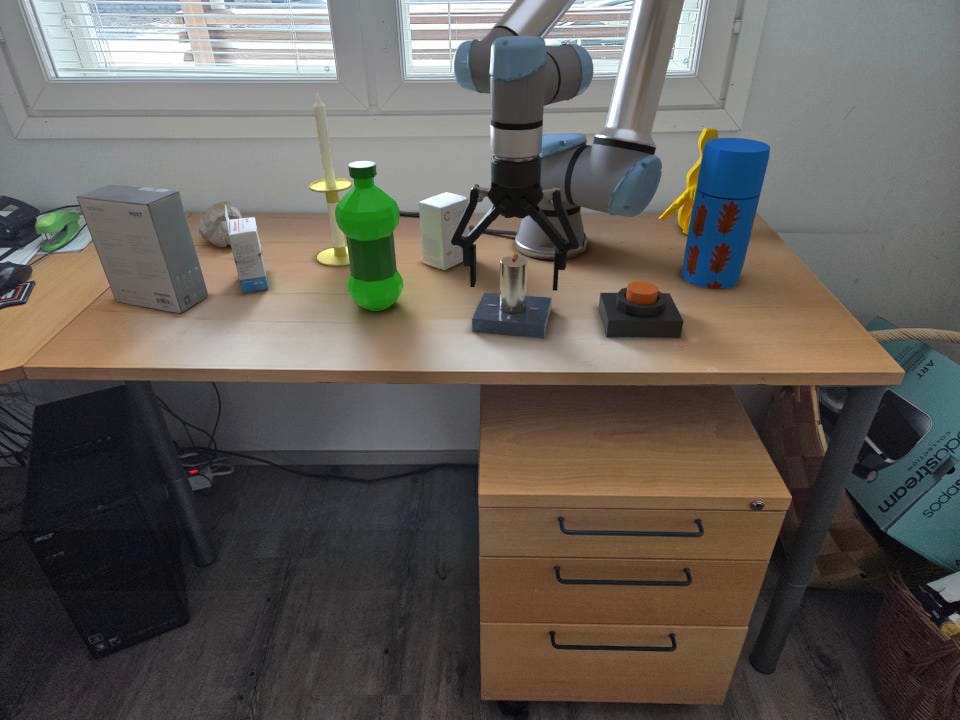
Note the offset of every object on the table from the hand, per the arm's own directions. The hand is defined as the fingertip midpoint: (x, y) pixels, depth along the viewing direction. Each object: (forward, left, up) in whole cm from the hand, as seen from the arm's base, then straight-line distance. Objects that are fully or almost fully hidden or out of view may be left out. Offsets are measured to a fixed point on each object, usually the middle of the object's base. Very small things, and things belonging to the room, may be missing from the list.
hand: (514, 285), depth 102 cm
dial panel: (0, 0, -6) cm, 7 cm away
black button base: (+14, +16, -6) cm, 22 cm away
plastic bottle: (-20, -15, -7) cm, 26 cm away
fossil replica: (-68, -26, -7) cm, 73 cm away
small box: (-28, +6, -7) cm, 29 cm away
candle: (-44, -10, -7) cm, 46 cm away
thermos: (+11, +41, -7) cm, 43 cm away
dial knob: (0, 0, -4) cm, 4 cm away
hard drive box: (-47, -45, -7) cm, 66 cm away
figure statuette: (-6, +60, -7) cm, 60 cm away
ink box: (-43, -29, -7) cm, 52 cm away
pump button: (+14, +16, -2) cm, 21 cm away
